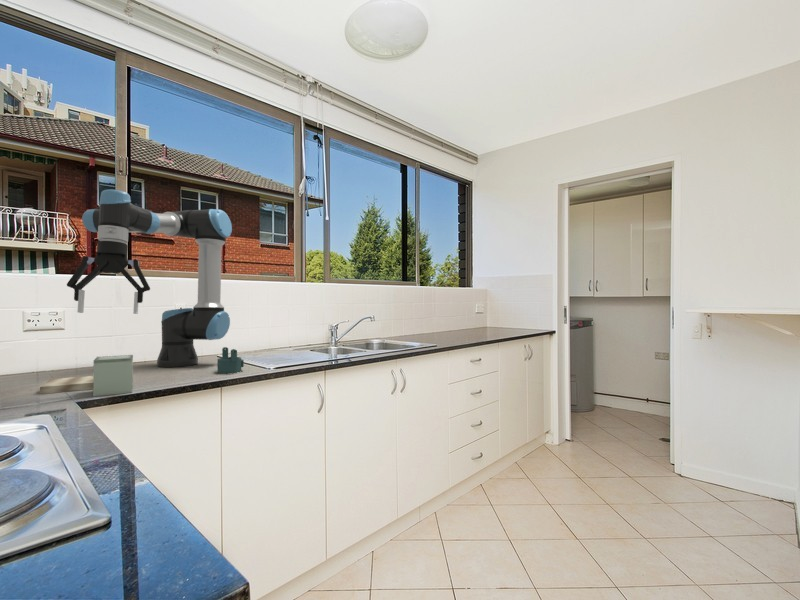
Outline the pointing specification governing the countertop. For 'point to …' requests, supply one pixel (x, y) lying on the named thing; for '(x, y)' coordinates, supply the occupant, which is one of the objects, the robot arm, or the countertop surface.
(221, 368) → the bracket
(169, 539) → the countertop surface
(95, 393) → the sage green cube
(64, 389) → the birch board
